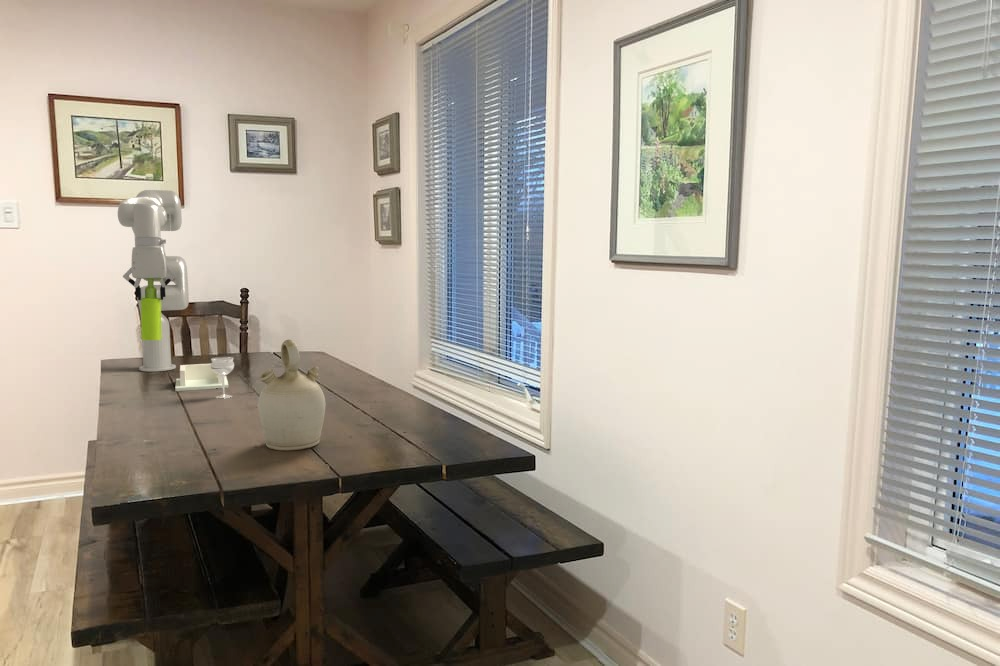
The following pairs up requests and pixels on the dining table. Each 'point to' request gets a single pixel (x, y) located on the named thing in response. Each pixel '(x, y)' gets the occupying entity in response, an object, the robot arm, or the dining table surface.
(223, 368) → the wineglass
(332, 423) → the dining table surface
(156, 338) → the soap dispenser
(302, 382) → the jug
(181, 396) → the dining table surface
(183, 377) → the u rest
